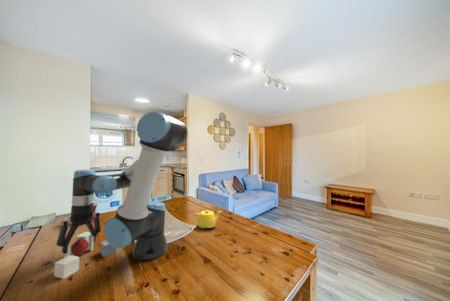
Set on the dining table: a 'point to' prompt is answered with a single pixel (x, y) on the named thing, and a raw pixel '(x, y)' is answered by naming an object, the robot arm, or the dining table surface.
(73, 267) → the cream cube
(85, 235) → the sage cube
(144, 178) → the robot arm
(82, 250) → the onion
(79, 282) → the dining table surface
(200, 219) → the teapot
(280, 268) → the dining table surface
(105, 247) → the slate cube
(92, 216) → the plastic cup
